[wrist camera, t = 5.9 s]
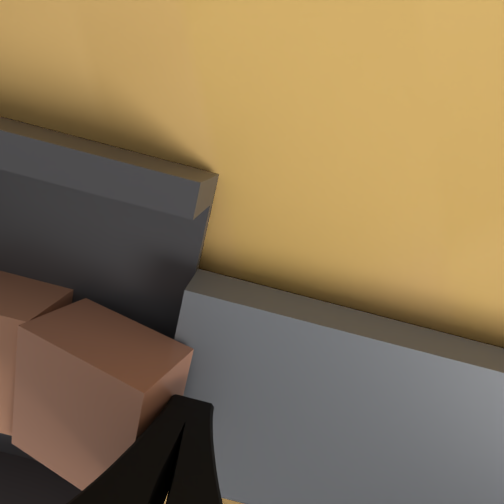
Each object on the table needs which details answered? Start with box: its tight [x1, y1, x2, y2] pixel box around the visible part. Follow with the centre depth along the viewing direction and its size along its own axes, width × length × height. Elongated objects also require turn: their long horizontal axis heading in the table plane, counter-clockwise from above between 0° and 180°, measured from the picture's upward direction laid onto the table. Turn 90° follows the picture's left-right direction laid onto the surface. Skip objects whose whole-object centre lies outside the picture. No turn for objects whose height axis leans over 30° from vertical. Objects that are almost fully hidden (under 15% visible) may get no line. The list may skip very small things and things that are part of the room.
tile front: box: [12, 298, 194, 491], centre depth 11 cm, size 4×4×2 cm
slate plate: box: [174, 269, 504, 504], centre depth 13 cm, size 8×18×2 cm, turn 76°
